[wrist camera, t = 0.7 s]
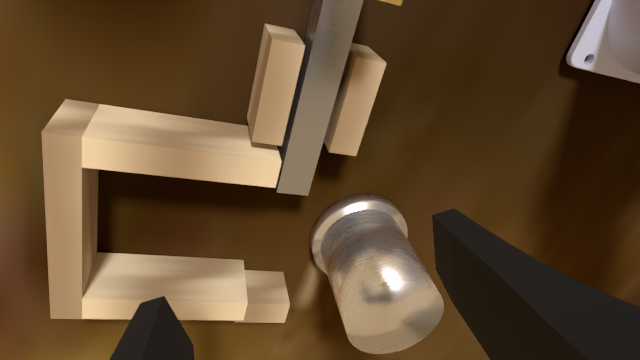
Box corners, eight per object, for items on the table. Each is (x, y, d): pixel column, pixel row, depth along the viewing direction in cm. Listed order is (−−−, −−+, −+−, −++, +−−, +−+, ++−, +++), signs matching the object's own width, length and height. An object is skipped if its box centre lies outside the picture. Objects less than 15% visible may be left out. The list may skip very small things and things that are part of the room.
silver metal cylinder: (415, 198, 24) (470, 277, 19) (384, 272, 26) (426, 358, 21) (323, 189, 22) (358, 271, 17) (299, 268, 24) (323, 360, 19)
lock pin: (375, -91, 15) (431, -90, 11) (302, 179, 20) (323, 242, 17) (337, -104, 15) (382, -107, 11) (272, 175, 20) (287, 239, 16)
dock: (367, 46, 19) (392, 67, 16) (293, 289, 25) (303, 332, 23) (63, -22, 15) (34, -7, 13) (69, 282, 22) (51, 331, 19)
